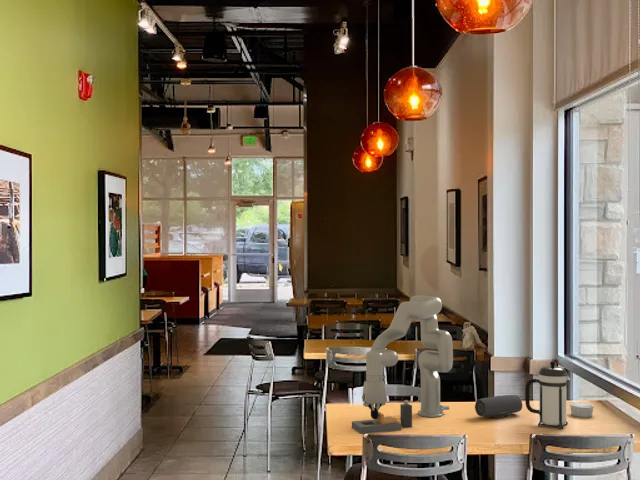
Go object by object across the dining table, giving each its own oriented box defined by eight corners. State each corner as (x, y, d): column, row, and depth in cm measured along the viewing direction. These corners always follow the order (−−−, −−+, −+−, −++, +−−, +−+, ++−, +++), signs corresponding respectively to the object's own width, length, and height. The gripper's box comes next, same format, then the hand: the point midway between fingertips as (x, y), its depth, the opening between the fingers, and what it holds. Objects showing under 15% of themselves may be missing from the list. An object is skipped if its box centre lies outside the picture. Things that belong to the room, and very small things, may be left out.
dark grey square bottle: (408, 425, 335) (408, 399, 335) (412, 427, 331) (411, 401, 331) (400, 425, 334) (400, 400, 334) (404, 427, 330) (404, 401, 330)
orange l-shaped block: (391, 418, 334) (391, 410, 334) (398, 422, 327) (398, 414, 327) (375, 420, 332) (375, 411, 332) (381, 424, 324) (381, 415, 324)
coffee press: (558, 420, 342) (558, 357, 342) (576, 429, 326) (575, 363, 326) (524, 422, 339) (524, 359, 339) (540, 430, 323) (540, 364, 324)
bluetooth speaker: (510, 412, 360) (510, 392, 360) (523, 416, 351) (523, 395, 351) (474, 416, 350) (473, 396, 350) (486, 421, 342) (486, 400, 342)
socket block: (391, 424, 336) (391, 417, 336) (401, 430, 325) (401, 423, 325) (351, 427, 330) (351, 421, 330) (360, 434, 319) (360, 427, 319)
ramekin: (586, 419, 345) (586, 408, 345) (565, 415, 353) (565, 404, 353) (598, 415, 352) (598, 404, 352) (577, 411, 360) (576, 401, 360)
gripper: (386, 376, 333) (386, 415, 333) (356, 377, 329) (356, 417, 329) (392, 379, 326) (392, 419, 326) (362, 380, 322) (362, 421, 322)
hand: (374, 418), depth 327 cm, fingers closed
